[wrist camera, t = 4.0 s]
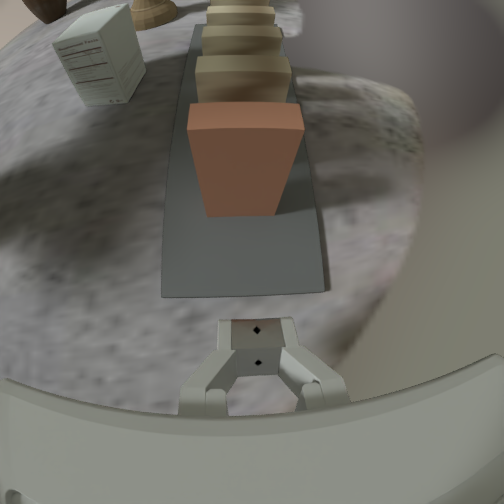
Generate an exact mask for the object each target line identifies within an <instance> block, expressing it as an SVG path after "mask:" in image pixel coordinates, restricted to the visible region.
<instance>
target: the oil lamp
mask: <svg viewBox="0 0 504 504" xmlns="http://www.w3.org/2000/svg"><path fill="white" fill-rule="evenodd" d="M130 12H131V16H132V20H133V24H134V28H135V31H141V30H147V29H150V28H154V27H157V26H160V25H162V24H165V23H167V22H169V21H171V20H172V19H174V18H175V17H176V16H177V13H178V12H177V7H176V5H175V3H174V2H172V1H170V0H134V3H133V5H132V7H131V9H130Z"/></svg>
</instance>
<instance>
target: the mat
mask: <svg viewBox="0 0 504 504" xmlns="http://www.w3.org/2000/svg"><path fill="white" fill-rule="evenodd" d="M205 26H207V24H196V25H195V28H194V32H193V35H192V39H191V43H190V47H189V51H188V56H187V60H186V64H185V69H184V74H183V78H182V83H181V88H180V94H179V99H178V105H177V110H176V116H175V123H174V129H173V136H172V143H171V151H170V158H169V167H168V176H167V186H166V197H165V209H164V223H163V241H162V270H161V297H162V298H210V297H245V296H269V295H289V294H306V293H321V292H324V291H325V287H324V276H323V265H322V255H321V246H320V237H319V229H318V221H317V214H316V206H315V199H314V193H313V186H312V180H311V173H310V167H309V161H308V156H307V150H306V145H305V139H304V134H303V137H302V139H301V142H300V145H299V148H298V151H297V154H296V156H295V159H294V162H293V165H292V168H291V170H290V173H289V176H288V179H287V182H286V184H285V187H284V190H283V193H282V196H281V198H280V201H279V204H278V207H277V210H276V212H275V215H274V216H234V217H207V215H206V211H205V207H204V203H203V199H202V194H201V190H200V186H199V182H198V178H197V173H196V169H195V165H194V160H193V156H192V151H191V147H190V142H189V138H188V133H187V125H188V117H189V109H190V104H194V103H199V102H198V94H197V86H196V78H195V69H196V63H197V57H198V56H203V52H202V39H201V36H202V32H203V27H205ZM274 27H278V26H277V24H274ZM279 56H281V57H286V55H285V51H284V47H283V43H281V49H280V55H279ZM285 103H294V104H297V100H296V96H295V91H294V87H293V82H292V78H291V80H290V84H289V89H288V93H287V98H286V102H285Z"/></svg>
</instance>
